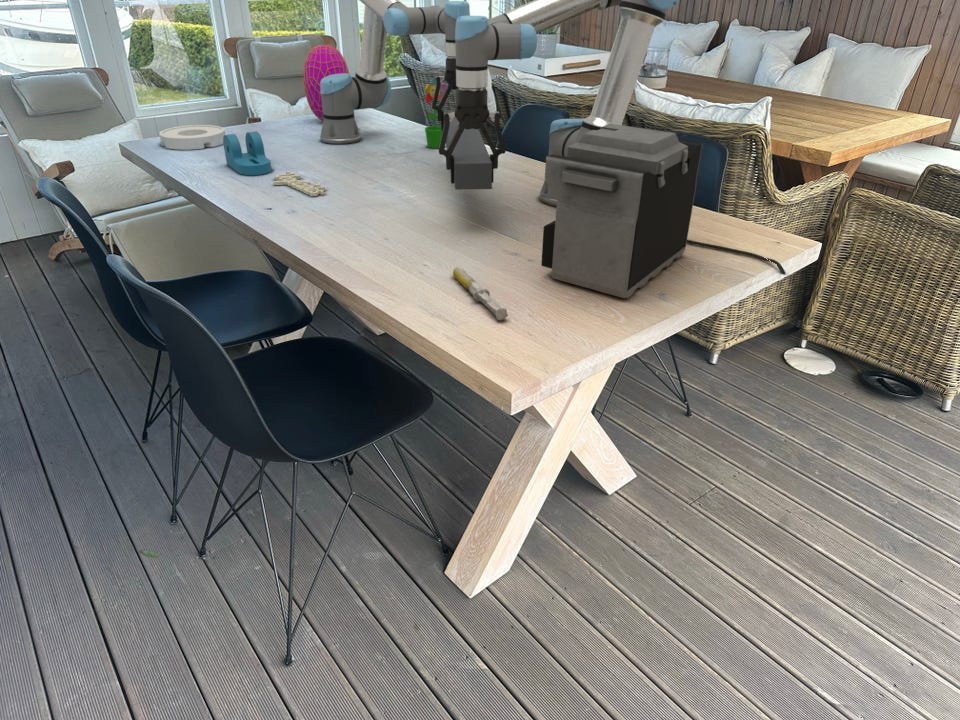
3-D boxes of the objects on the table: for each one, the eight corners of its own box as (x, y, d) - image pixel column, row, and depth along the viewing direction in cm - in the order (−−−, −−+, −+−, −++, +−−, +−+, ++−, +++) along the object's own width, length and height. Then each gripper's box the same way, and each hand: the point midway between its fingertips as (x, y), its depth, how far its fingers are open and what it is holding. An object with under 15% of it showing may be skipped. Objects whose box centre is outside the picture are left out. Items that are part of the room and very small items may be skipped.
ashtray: (176, 134, 270) (174, 124, 268) (235, 135, 269) (233, 125, 267) (150, 149, 250) (147, 137, 248) (213, 150, 249) (211, 139, 247)
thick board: (491, 189, 172) (492, 163, 168) (455, 189, 171) (454, 163, 167) (470, 130, 229) (470, 110, 226) (443, 130, 229) (442, 110, 225)
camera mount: (227, 164, 233) (221, 132, 227) (257, 160, 238) (252, 129, 233) (244, 176, 220) (239, 143, 215) (276, 172, 225) (271, 139, 220)
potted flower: (429, 149, 253) (427, 77, 241) (420, 145, 259) (418, 74, 247) (452, 147, 257) (451, 75, 245) (443, 142, 263) (442, 72, 250)
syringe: (449, 274, 155) (449, 263, 153) (465, 272, 156) (464, 260, 154) (490, 323, 135) (491, 310, 133) (508, 319, 136) (508, 307, 134)
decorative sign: (262, 176, 218) (290, 170, 223) (262, 179, 218) (291, 173, 224) (303, 195, 201) (333, 189, 206) (303, 198, 201) (333, 192, 207)
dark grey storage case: (608, 233, 179) (621, 113, 163) (689, 253, 168) (712, 126, 152) (533, 279, 153) (540, 141, 138) (624, 305, 142) (643, 159, 127)
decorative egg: (337, 115, 306) (331, 41, 291) (362, 122, 294) (356, 45, 279) (299, 120, 295) (290, 44, 280) (323, 128, 283) (315, 49, 267)
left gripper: (491, 55, 217) (490, 128, 229) (422, 55, 215) (424, 129, 227) (493, 58, 211) (492, 134, 222) (422, 58, 209) (424, 134, 220)
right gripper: (515, 85, 168) (512, 176, 179) (425, 86, 166) (428, 178, 177) (519, 90, 161) (516, 185, 173) (425, 91, 160) (429, 186, 171)
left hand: (457, 131), depth 225 cm, fingers closed on thick board, 9 cm apart
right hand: (472, 181), depth 175 cm, fingers closed on thick board, 9 cm apart
